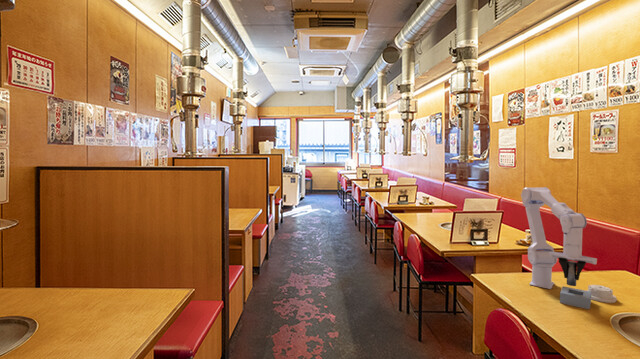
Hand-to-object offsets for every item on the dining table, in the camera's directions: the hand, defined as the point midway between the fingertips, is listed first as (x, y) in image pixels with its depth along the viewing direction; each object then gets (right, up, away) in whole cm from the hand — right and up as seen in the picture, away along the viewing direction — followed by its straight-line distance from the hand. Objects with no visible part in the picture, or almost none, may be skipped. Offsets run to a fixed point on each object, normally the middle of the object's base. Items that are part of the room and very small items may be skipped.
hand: (571, 278), depth 127 cm
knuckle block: (+2, -9, 0) cm, 10 cm away
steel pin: (0, -2, 0) cm, 2 cm away
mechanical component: (+15, -10, +4) cm, 18 cm away
